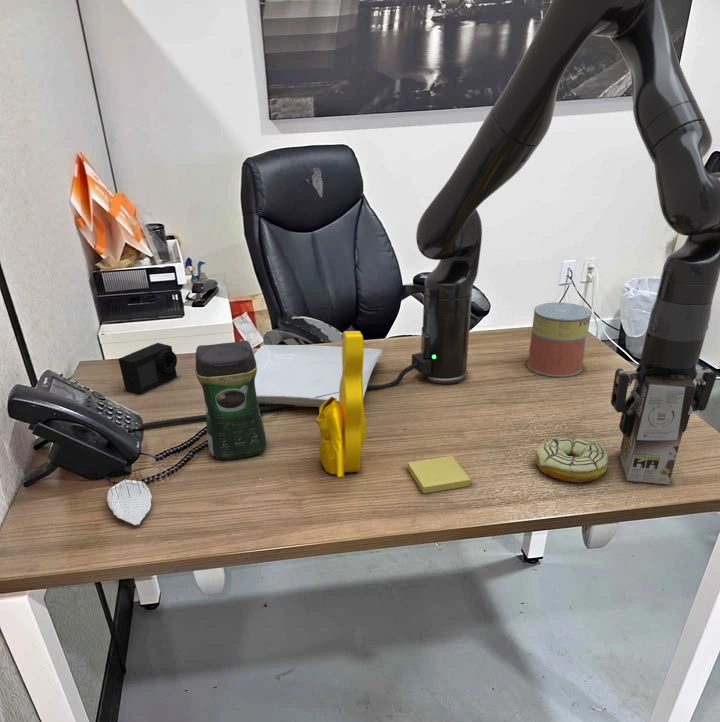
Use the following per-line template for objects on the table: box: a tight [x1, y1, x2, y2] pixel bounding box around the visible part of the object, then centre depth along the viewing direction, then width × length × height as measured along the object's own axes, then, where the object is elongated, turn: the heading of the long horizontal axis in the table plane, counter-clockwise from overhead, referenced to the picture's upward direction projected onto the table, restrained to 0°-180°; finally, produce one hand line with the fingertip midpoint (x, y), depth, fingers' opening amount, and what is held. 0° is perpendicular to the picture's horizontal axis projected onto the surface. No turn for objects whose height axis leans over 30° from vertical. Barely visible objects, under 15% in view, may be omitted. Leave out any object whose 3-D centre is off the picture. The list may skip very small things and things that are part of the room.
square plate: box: [253, 344, 383, 408], centre depth 132 cm, size 27×27×4 cm
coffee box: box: [619, 361, 696, 486], centre depth 99 cm, size 9×6×16 cm
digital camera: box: [118, 342, 178, 395], centre depth 133 cm, size 10×5×7 cm, turn 148°
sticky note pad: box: [407, 455, 472, 494], centre depth 101 cm, size 8×8×1 cm
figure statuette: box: [315, 330, 367, 478], centre depth 100 cm, size 18×8×22 cm, turn 11°
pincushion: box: [106, 469, 153, 526], centre depth 95 cm, size 12×6×6 cm, turn 25°
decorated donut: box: [535, 436, 609, 483], centre depth 102 cm, size 10×11×4 cm
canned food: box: [526, 302, 592, 378], centre depth 135 cm, size 11×11×12 cm
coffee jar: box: [195, 340, 267, 460], centre depth 106 cm, size 10×8×19 cm
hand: (650, 434), depth 100 cm, fingers closed on coffee box, 7 cm apart
